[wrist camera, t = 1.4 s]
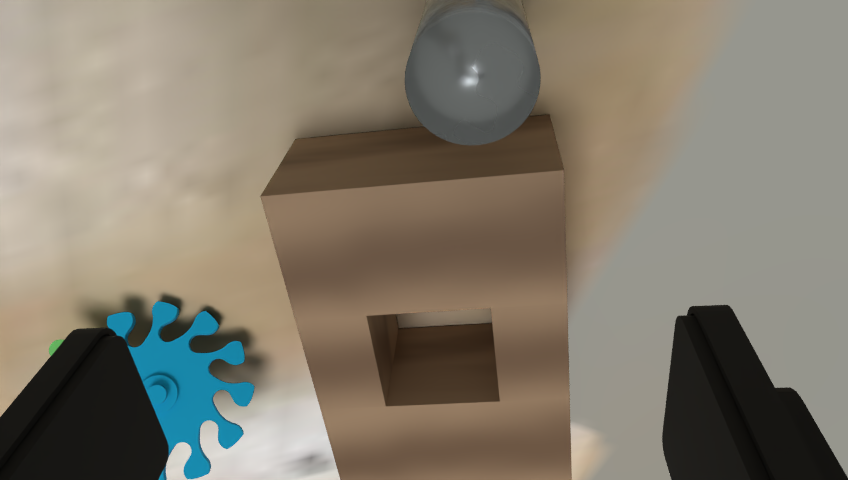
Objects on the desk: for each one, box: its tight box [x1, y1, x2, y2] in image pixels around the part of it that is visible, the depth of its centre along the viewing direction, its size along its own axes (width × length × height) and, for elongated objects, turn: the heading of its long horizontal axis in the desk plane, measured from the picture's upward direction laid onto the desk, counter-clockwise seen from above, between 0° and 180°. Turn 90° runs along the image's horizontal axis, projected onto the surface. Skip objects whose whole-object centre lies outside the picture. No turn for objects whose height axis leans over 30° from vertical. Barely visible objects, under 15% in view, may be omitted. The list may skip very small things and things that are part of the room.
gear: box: [49, 301, 255, 480], centre depth 38 cm, size 11×6×10 cm
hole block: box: [260, 115, 572, 480], centre depth 33 cm, size 18×12×6 cm, turn 7°
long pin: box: [405, 0, 540, 145], centre depth 24 cm, size 4×4×10 cm
